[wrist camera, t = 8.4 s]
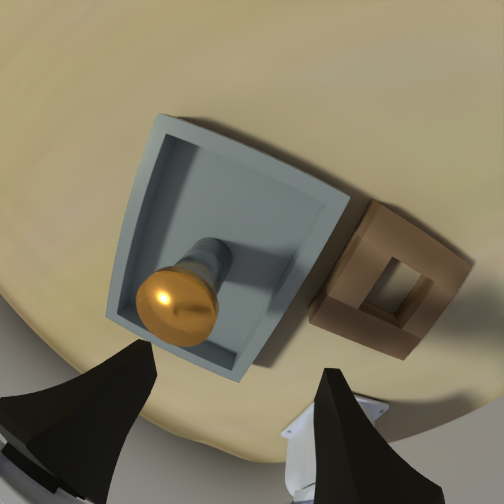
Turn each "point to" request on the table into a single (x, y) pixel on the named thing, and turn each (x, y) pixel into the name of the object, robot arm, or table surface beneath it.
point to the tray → (221, 235)
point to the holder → (367, 273)
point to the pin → (186, 294)
